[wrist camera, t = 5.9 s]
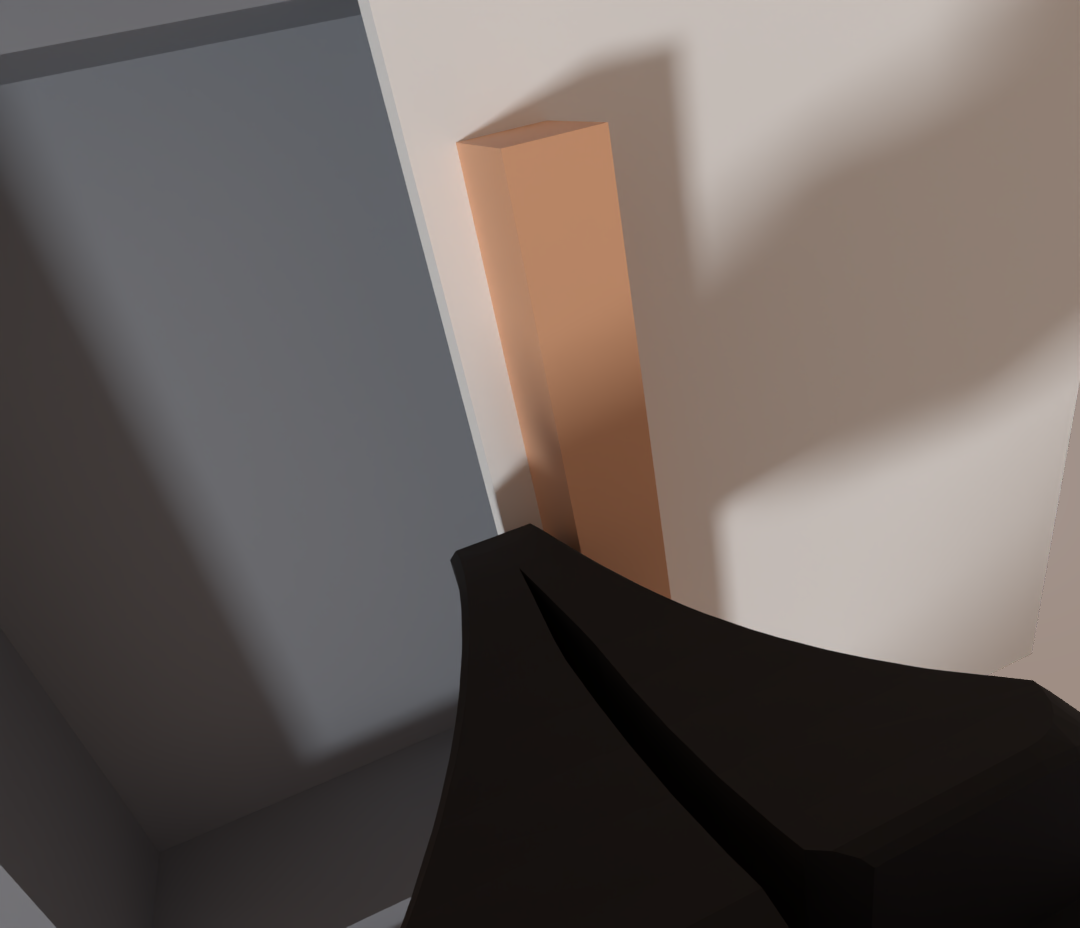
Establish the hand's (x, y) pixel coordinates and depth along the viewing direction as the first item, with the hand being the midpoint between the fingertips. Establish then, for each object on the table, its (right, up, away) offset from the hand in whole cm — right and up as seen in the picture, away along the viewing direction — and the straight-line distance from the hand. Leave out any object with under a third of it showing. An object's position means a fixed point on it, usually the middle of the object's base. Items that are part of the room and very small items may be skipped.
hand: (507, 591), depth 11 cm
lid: (+5, +3, +3) cm, 6 cm away
